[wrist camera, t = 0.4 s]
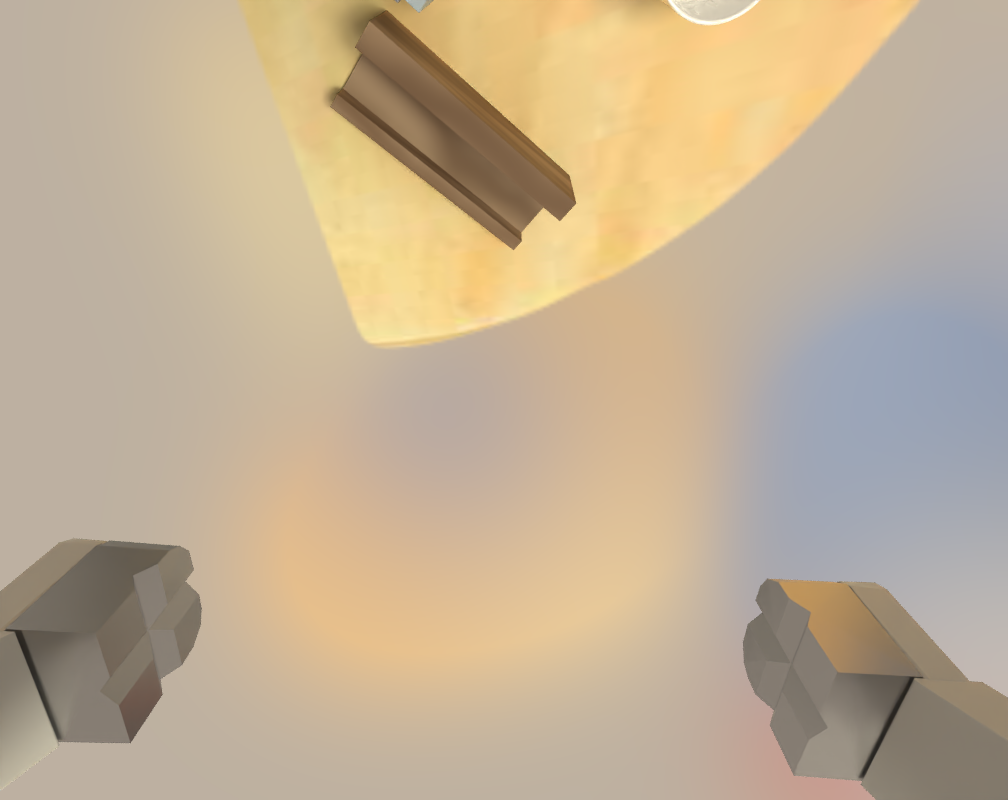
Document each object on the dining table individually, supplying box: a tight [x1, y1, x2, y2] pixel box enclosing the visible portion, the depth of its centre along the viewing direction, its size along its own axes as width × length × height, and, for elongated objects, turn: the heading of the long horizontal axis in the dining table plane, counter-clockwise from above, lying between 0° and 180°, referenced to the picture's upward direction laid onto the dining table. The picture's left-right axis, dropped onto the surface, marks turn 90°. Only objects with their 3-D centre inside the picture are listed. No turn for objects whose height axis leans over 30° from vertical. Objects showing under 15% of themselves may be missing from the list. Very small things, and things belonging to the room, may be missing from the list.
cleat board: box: [330, 11, 576, 250], centre depth 46 cm, size 8×20×7 cm, turn 51°
